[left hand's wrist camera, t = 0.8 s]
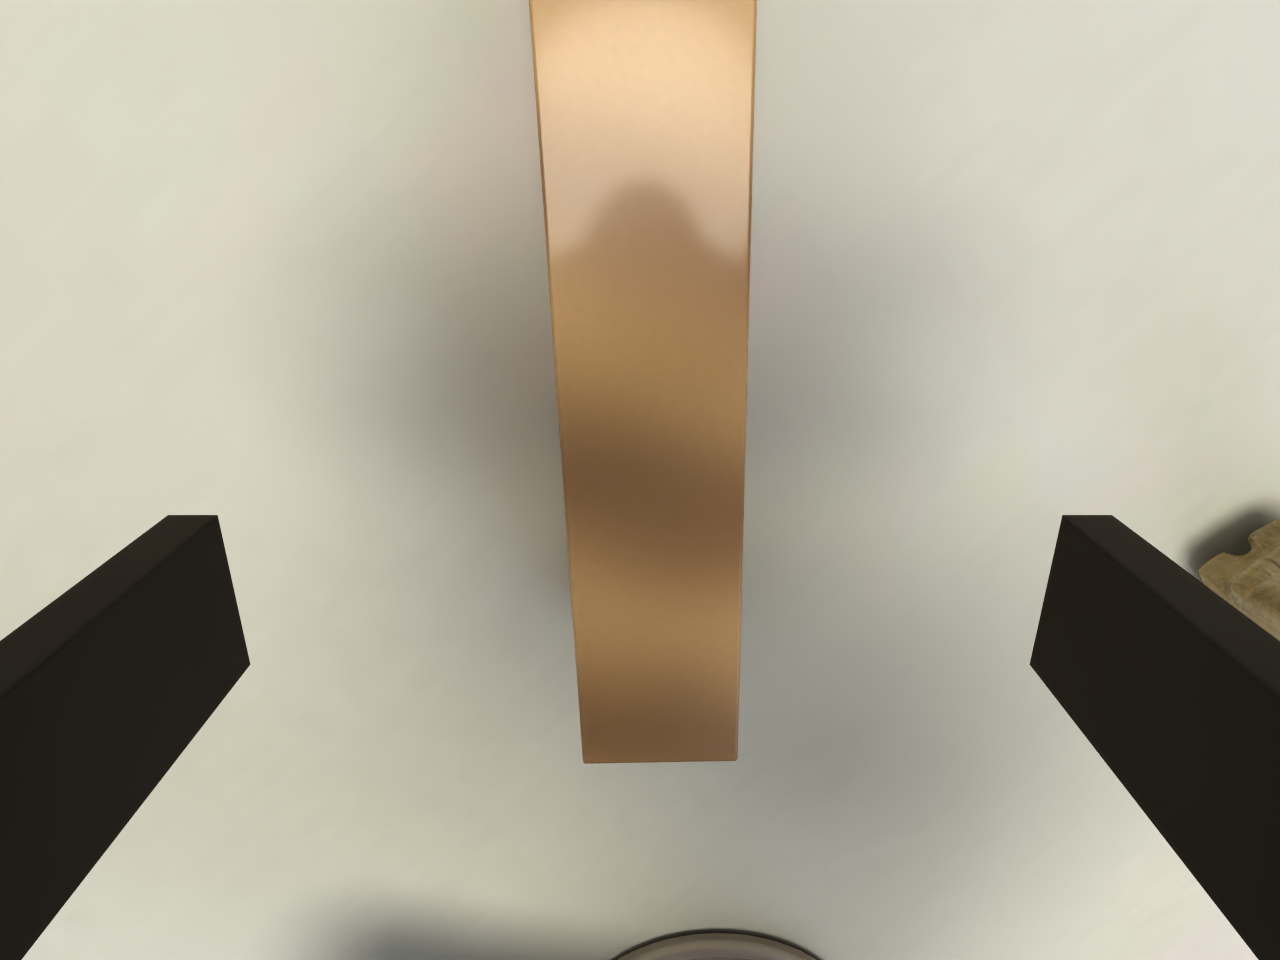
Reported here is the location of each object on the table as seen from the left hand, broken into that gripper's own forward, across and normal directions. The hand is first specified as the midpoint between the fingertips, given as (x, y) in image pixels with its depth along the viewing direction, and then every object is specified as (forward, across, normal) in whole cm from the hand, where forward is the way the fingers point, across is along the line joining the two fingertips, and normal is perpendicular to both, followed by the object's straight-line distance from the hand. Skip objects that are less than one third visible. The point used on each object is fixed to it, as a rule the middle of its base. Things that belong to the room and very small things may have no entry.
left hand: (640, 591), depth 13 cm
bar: (+16, 0, -29) cm, 33 cm away
